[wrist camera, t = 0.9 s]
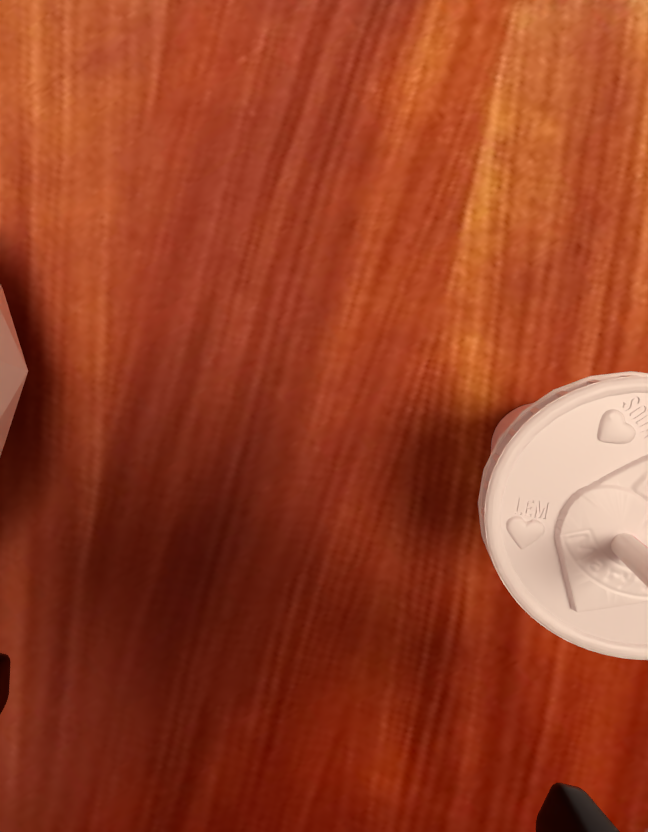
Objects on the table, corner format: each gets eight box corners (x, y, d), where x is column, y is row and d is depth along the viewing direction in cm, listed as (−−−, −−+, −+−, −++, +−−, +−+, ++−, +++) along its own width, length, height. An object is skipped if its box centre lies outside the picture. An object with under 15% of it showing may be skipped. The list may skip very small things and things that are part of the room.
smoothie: (428, 471, 21) (427, 673, 7) (511, 339, 19) (705, 279, 6) (564, 553, 20) (859, 959, 6) (660, 421, 19) (1288, 571, 5)
